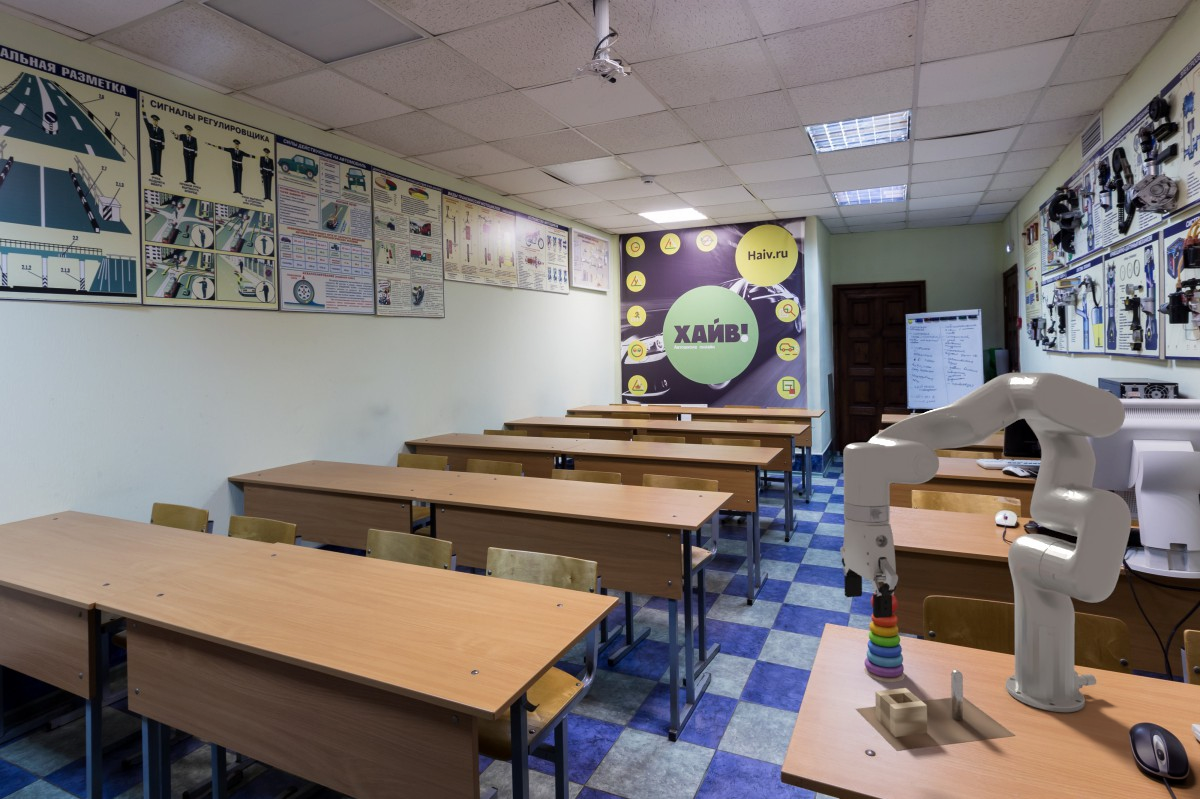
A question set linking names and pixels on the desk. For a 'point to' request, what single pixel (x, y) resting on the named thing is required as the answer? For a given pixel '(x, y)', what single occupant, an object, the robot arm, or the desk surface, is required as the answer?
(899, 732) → the wooden square holder
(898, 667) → the stacking toy
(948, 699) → the brown rectangular board
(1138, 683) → the desk surface
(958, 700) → the grey glassy cylinder
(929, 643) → the desk surface
